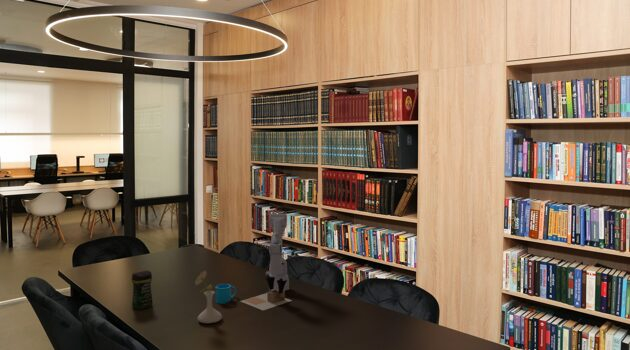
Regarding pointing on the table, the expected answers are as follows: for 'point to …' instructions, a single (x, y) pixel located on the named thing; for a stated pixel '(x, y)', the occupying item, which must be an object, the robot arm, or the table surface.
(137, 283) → the coffee jar
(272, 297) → the box
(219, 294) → the mug
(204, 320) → the flower in vase
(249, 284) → the table surface
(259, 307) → the card mat
